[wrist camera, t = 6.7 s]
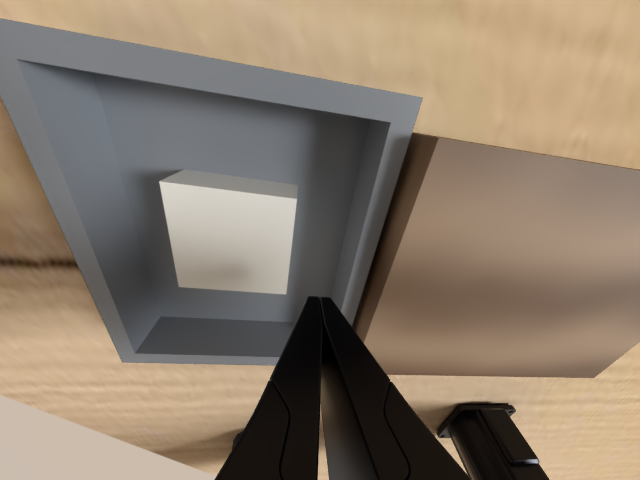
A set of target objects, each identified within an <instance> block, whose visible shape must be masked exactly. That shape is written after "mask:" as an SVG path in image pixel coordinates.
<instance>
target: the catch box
mask: <svg viewBox="0 0 640 480" xmlns="http://www.w3.org/2000/svg"><path fill="white" fill-rule="evenodd" d="M0 97H1V99H2V101H3V103H4V105H5V107H6V110H7V112H8V114H9V116H10V118H11V121H12V123H13V125H14V127H15V129H16V132H17V134H18V136H19V138H20V140H21V142H22V145H23V147H24V149H25V151H26V153H27V156H28V158H29V160H30V162H31V164H32V166H33V169H34V171H35V173H36V175H37V177H38V180H39V182H40V184H41V186H42V188H43V191H44V193H45V195H46V197H47V199H48V201H49V204H50V206H51V208H52V210H53V212H54V215H55V217H56V219H57V221H58V223H59V226H60V228H61V230H62V232H63V234H64V236H65V239H66V241H67V243H68V245H69V247H70V250H71V252H72V254H73V256H74V258H75V260H76V263H77V265H78V267H79V269H80V271H81V274H82V276H83V278H84V280H85V282H86V285H87V287H88V289H89V291H90V293H91V295H92V298H93V300H94V302H95V304H96V306H97V309H98V311H99V313H100V315H101V317H102V320H103V322H104V324H105V326H106V328H107V330H108V333H109V335H110V337H111V339H112V341H113V344H114V346H115V348H116V350H117V352H118V354H119V357H120V359H121V361H122V362H126V363H175V364H224V365H273V366H276V364H277V362H278V360H279V358H280V355H281V353H282V351H283V349H284V347H285V344H286V342H287V340H288V338H289V336H290V334H291V331H292V329H293V327H294V325H295V323H296V320H297V318H298V316H299V314H300V312H301V309H302V307H303V305H304V303H305V301H306V298H307V297H308V296H318V297H330V298H331V299H332V300H333V301H334V303H335V304H336V306H337V307H338V308H339V310H340V311H341V312H342V314H343V315H344V317H345V318H346V319H347V321H348V322H349V323H350V325H351V326H352V325H353V321H354V318H355V315H356V312H357V308H358V305H359V302H360V299H361V296H362V292H363V289H364V286H365V283H366V279H367V276H368V273H369V270H370V267H371V263H372V260H373V257H374V254H375V250H376V247H377V244H378V241H379V238H380V234H381V231H382V228H383V225H384V221H385V218H386V215H387V212H388V209H389V205H390V202H391V199H392V196H393V192H394V189H395V186H396V183H397V180H398V176H399V173H400V170H401V167H402V163H403V160H404V157H405V154H406V151H407V147H408V144H409V141H410V138H411V134H412V131H413V128H414V125H415V121H416V118H417V115H418V112H419V109H420V105H421V102H422V99H423V98H422V97H417V96H411V95H406V94H401V93H395V92H390V91H385V90H379V89H374V88H369V87H363V86H358V85H353V84H347V83H342V82H337V81H331V80H326V79H321V78H315V77H310V76H305V75H299V74H294V73H289V72H283V71H278V70H273V69H267V68H262V67H257V66H251V65H246V64H241V63H236V62H230V61H225V60H220V59H214V58H209V57H204V56H198V55H193V54H188V53H182V52H177V51H172V50H166V49H161V48H156V47H150V46H145V45H140V44H134V43H129V42H124V41H118V40H113V39H108V38H102V37H97V36H92V35H86V34H81V33H76V32H70V31H65V30H60V29H54V28H49V27H44V26H38V25H33V24H28V23H22V22H17V21H12V20H6V19H1V18H0ZM184 169H186V170H193V171H200V172H207V173H215V174H222V175H229V176H237V177H244V178H251V179H259V180H266V181H273V182H280V183H288V184H295V185H298V192H297V204H296V213H295V221H294V230H293V239H292V248H291V257H290V266H289V274H288V283H287V292H286V295H285V294H271V293H257V292H242V291H228V290H214V289H200V288H186V287H179V285H178V280H177V275H176V269H175V264H174V258H173V253H172V248H171V242H170V237H169V232H168V226H167V221H166V216H165V210H164V205H163V199H162V194H161V189H160V183H159V181H161V180H163V179H165V178H167V177H169V176H171V175H173V174H176V173H178V172H180V171H182V170H184Z"/></svg>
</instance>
